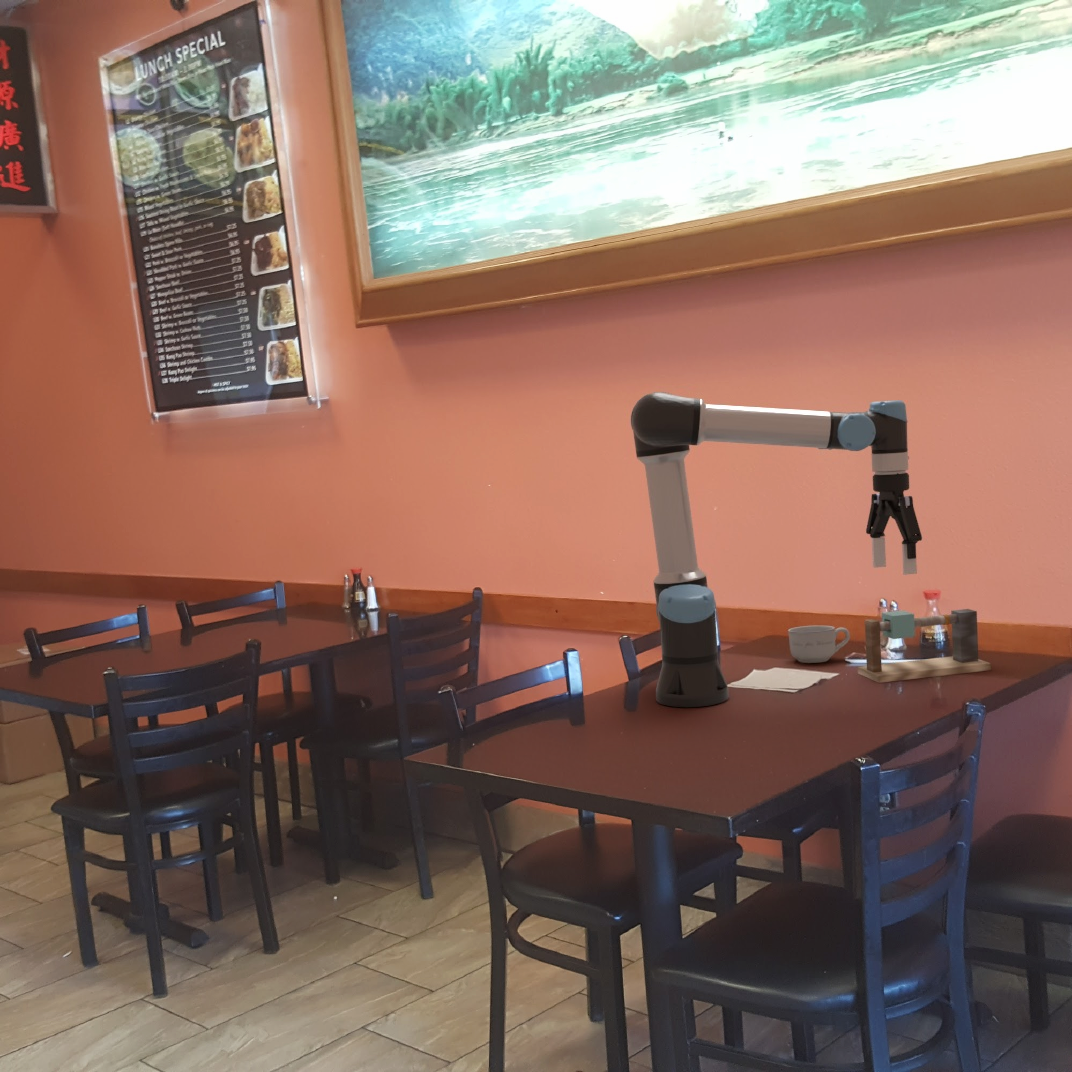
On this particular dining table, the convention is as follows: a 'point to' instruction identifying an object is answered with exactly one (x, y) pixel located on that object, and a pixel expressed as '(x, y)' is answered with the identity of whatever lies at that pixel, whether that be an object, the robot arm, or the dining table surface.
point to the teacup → (815, 642)
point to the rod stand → (956, 664)
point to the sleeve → (899, 624)
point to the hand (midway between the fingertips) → (894, 570)
